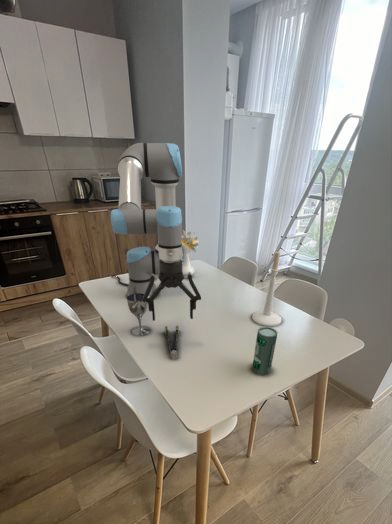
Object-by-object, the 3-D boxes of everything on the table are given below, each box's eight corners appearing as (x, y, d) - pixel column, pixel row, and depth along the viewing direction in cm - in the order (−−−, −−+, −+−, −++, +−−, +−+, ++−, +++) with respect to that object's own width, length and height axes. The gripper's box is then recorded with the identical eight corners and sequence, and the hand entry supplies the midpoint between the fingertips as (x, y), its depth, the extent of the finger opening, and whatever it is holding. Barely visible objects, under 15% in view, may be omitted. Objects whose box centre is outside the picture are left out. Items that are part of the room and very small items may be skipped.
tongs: (182, 358, 107) (182, 351, 105) (166, 359, 106) (165, 352, 105) (178, 332, 123) (178, 325, 121) (164, 332, 122) (164, 326, 121)
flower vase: (184, 283, 167) (184, 237, 153) (171, 273, 180) (169, 230, 167) (204, 280, 172) (206, 235, 158) (190, 270, 186) (190, 228, 172)
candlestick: (246, 319, 133) (254, 251, 116) (262, 310, 141) (271, 245, 124) (271, 329, 126) (284, 258, 109) (286, 318, 134) (300, 251, 117)
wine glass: (134, 337, 118) (130, 303, 110) (128, 328, 124) (124, 295, 116) (153, 333, 122) (150, 299, 113) (146, 324, 127) (143, 291, 119)
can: (253, 362, 106) (259, 325, 97) (271, 365, 104) (278, 328, 96) (251, 372, 101) (256, 334, 92) (269, 376, 99) (276, 338, 91)
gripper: (130, 264, 92) (137, 324, 103) (210, 262, 94) (208, 321, 106) (132, 257, 98) (138, 314, 110) (207, 255, 101) (205, 312, 112)
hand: (172, 318), depth 108 cm, fingers open, 13 cm apart
